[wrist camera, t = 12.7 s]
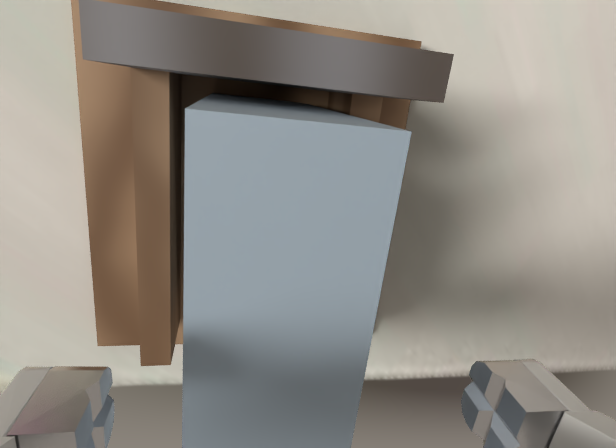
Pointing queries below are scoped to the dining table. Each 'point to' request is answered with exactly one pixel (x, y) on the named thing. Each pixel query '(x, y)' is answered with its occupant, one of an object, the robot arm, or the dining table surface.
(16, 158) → the dining table surface
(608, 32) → the dining table surface
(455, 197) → the dining table surface
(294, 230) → the book
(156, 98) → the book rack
